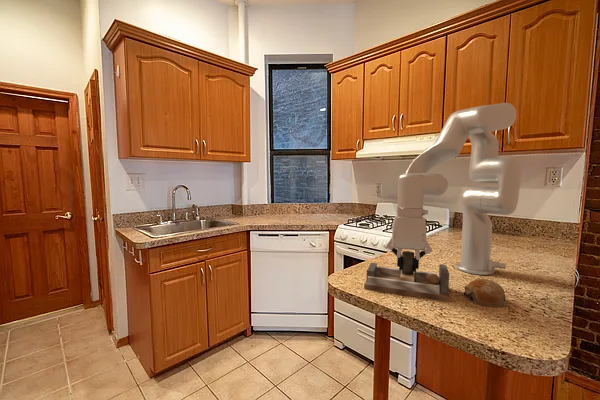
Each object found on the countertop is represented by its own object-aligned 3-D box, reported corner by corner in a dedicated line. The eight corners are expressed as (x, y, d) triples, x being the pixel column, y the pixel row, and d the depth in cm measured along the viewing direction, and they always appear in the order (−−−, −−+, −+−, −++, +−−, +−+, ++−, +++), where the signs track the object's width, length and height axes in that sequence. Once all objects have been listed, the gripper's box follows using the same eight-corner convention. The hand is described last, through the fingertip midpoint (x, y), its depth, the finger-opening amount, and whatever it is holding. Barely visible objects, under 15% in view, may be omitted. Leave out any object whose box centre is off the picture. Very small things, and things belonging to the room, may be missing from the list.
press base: (444, 285, 92) (445, 263, 92) (448, 301, 81) (449, 276, 81) (369, 275, 102) (370, 255, 101) (364, 288, 90) (364, 265, 90)
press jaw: (416, 278, 94) (417, 249, 93) (415, 288, 86) (417, 257, 85) (401, 276, 96) (402, 248, 95) (399, 286, 88) (400, 255, 87)
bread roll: (497, 322, 77) (515, 300, 74) (459, 299, 81) (475, 277, 79) (495, 308, 85) (511, 287, 83) (461, 287, 90) (475, 267, 87)
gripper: (438, 212, 89) (435, 269, 91) (383, 210, 96) (382, 263, 97) (440, 216, 82) (437, 277, 84) (381, 213, 89) (379, 270, 90)
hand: (407, 269), depth 91 cm, fingers closed on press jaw, 3 cm apart
